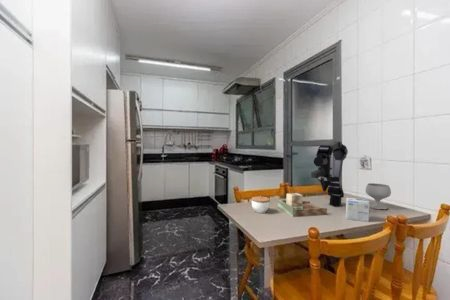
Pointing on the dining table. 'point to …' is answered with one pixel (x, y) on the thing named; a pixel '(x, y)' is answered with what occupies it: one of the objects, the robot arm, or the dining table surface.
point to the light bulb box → (357, 209)
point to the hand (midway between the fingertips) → (324, 191)
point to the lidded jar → (260, 204)
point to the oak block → (294, 199)
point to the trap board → (301, 209)
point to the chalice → (378, 194)
